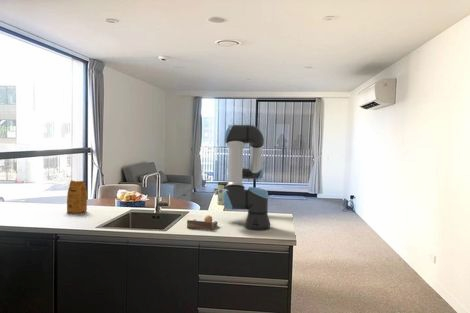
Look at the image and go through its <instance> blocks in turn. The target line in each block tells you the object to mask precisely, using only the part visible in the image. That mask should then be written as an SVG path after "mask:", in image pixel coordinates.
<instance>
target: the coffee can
mask: <svg viewBox="0 0 470 313" xmlns="http://www.w3.org/2000/svg"><path fill="white" fill-rule="evenodd" d="M227 184H228V181H217V189H218V194H217V205H218V206H222V207H223V206H224V199H223V189H225V186H226V185H227Z"/></svg>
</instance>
